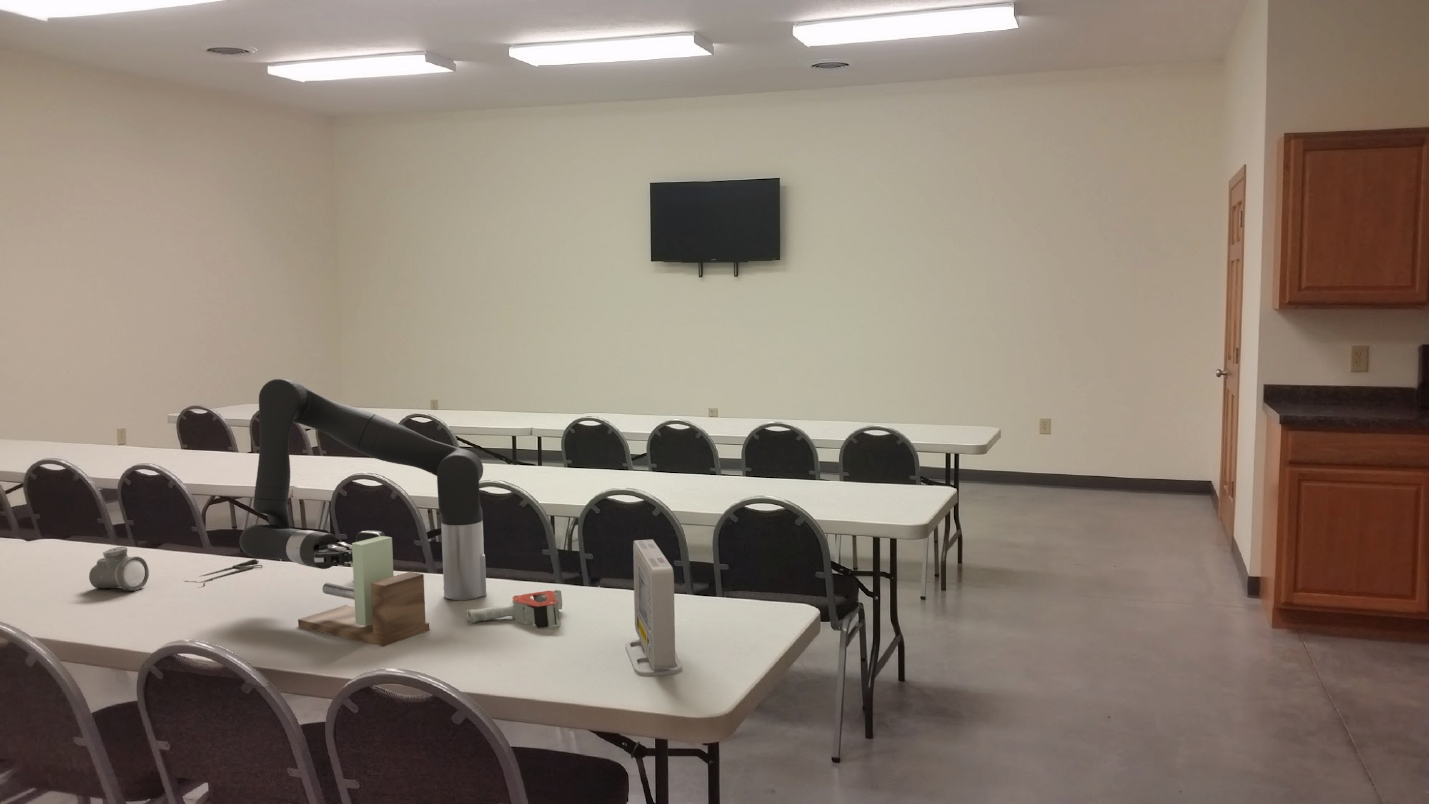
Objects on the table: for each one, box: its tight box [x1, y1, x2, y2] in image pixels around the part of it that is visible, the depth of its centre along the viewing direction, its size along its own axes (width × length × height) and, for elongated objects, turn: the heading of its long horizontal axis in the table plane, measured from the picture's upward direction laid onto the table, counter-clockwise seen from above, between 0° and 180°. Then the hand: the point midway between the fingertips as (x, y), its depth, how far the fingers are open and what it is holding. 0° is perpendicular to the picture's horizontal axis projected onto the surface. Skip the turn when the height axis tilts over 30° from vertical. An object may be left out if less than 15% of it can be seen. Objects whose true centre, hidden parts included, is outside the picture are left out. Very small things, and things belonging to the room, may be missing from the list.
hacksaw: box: [183, 558, 264, 589], centre depth 263 cm, size 24×10×2 cm, turn 149°
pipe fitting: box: [88, 545, 150, 592], centre depth 251 cm, size 12×8×10 cm, turn 73°
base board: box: [297, 571, 430, 648], centre depth 218 cm, size 26×12×12 cm, turn 58°
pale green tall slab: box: [351, 535, 395, 626], centre depth 215 cm, size 3×8×17 cm, turn 148°
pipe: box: [321, 582, 355, 601], centre depth 218 cm, size 22×3×3 cm, turn 58°
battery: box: [355, 530, 386, 542], centre depth 259 cm, size 7×4×11 cm, turn 72°
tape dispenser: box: [466, 589, 563, 629], centre depth 224 cm, size 18×5×20 cm
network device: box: [624, 539, 683, 677], centre depth 197 cm, size 26×9×20 cm, turn 12°
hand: (368, 558), depth 216 cm, fingers closed
